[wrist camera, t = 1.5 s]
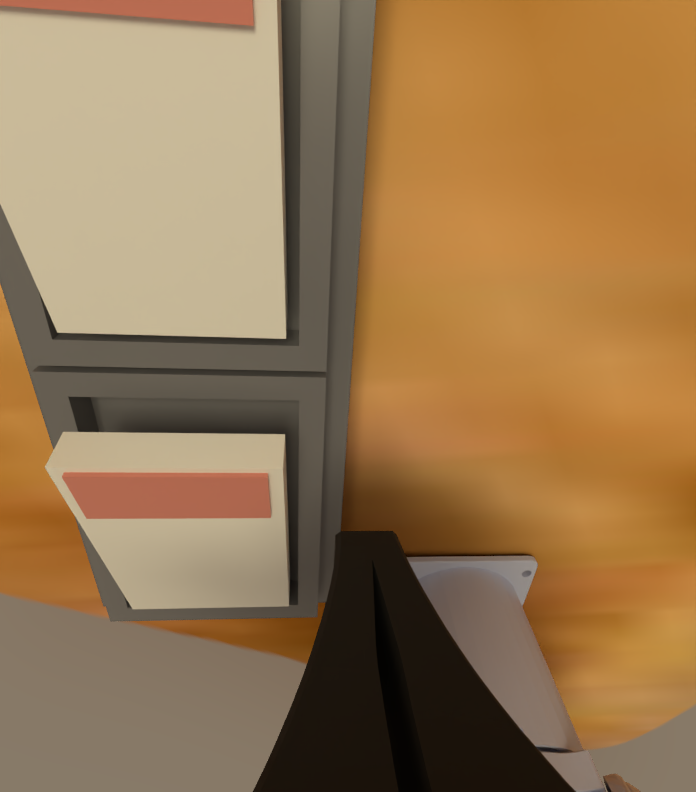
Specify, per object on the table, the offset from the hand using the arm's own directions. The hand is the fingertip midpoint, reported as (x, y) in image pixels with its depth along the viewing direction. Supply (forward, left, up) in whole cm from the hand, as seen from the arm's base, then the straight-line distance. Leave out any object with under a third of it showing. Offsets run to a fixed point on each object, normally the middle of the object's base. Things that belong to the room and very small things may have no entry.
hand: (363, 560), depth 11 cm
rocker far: (-3, +5, -4) cm, 7 cm away
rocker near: (+8, +5, -4) cm, 10 cm away
